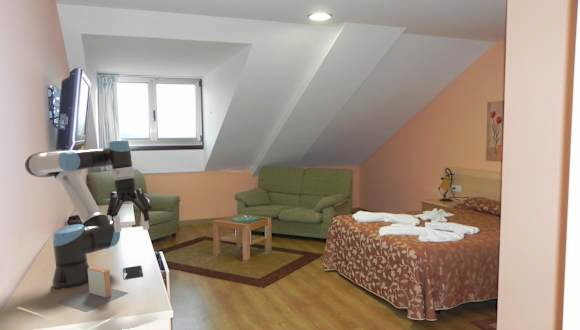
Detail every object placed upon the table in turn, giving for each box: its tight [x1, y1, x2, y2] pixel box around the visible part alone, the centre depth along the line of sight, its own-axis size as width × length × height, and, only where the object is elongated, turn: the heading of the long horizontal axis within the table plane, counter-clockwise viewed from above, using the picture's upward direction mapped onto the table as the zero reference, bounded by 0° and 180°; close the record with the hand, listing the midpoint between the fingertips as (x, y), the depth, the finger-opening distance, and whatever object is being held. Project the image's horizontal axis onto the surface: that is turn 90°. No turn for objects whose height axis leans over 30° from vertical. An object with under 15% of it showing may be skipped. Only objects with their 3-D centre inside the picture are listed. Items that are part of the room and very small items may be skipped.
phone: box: [122, 265, 144, 280], centre depth 185 cm, size 8×1×15 cm
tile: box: [87, 266, 112, 298], centre depth 162 cm, size 10×2×10 cm, turn 60°
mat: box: [55, 287, 129, 313], centre depth 160 cm, size 18×18×1 cm
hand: (132, 230), depth 171 cm, fingers open, 13 cm apart
